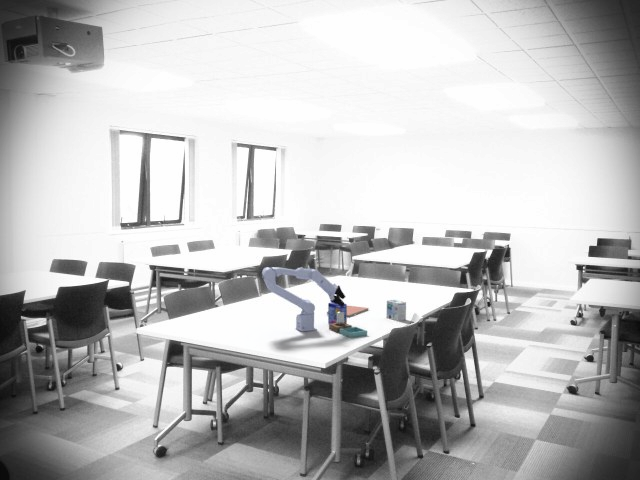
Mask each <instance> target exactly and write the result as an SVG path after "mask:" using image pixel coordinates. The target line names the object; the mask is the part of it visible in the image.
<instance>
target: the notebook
mask: <svg viewBox="0 0 640 480" xmlns="http://www.w3.org/2000/svg"><path fill="white" fill-rule="evenodd" d="M369 309H370V308H369V307H364V306H355V305H354V306H353V305H347V318H350V317H353V316H356V315H359V314H361V313H364V312H366V310H367V311H369ZM358 313H359V314H358ZM355 314H356V315H355ZM326 315H328V311H327V312H326Z"/></svg>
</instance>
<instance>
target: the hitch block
mask: <svg viewBox="0 0 640 480" xmlns="http://www.w3.org/2000/svg"><path fill="white" fill-rule="evenodd" d="M350 327H353V326H352V325H351V324H349V323H347V324H346V323H344V326H337V323H333V324H328V329H329V330H330V331H333V332H335V333H336V334H340V329H342V328H350Z"/></svg>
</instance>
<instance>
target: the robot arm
mask: <svg viewBox="0 0 640 480" xmlns="http://www.w3.org/2000/svg"><path fill="white" fill-rule="evenodd" d="M282 275H283V276H293V277H294V276H295V278H296V279H297V280H298V279H300V280H312V281H313V282H315V284H316V285H317V286H318V287H320V288H321V289H322V291H324V292H325V293H326V294H327V295H328V297H329V300H330V303H331V302H333V303H336V304H338V305H340V306H343V305H344V304H345V302H344V299H346V295H345V293H344V292H343V291H342V288H341V285H337V284H336V283H332V282H331V281H330V280H328V278H326V276H323V275H322V274H321V272H320V271H318V270H316V269H315V268H304V267H302V266H301V267H297V268H296V269H292V268H286V267H285V268H284V267H276V266H274V267H273V266H271V267H270V266H267V267H264V268H263V269H262V272H261V278H262V281H263V282H264V283H265V286H266V287H267V290H268V291H269V292H271V293H272V294H275V295H276V296H278V297H280V298H282V299H284V300H286V301H287V302H289V303H292V304H293V305H294V306H296V307H298V308H300V309H301V312H300V313H299V314H296V318H295V322H296V323H295V325H296V327H295V329H296V330H298V331H300V332H311V331H317V330H318V329H317V328H316V327H315V310H316V305H315V304H314V303H312V302H311V301H310V300H309V299H303V298H302V297H299V296H298V295H296V294H293V292H291V291H288V290H287V289H285V288H283V287H282V286H280V285H278V284H277V282H276V277H277V278H278V277H280V276H282Z"/></svg>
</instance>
